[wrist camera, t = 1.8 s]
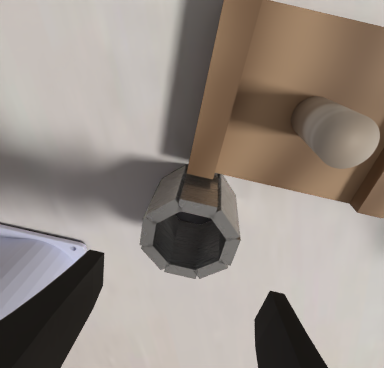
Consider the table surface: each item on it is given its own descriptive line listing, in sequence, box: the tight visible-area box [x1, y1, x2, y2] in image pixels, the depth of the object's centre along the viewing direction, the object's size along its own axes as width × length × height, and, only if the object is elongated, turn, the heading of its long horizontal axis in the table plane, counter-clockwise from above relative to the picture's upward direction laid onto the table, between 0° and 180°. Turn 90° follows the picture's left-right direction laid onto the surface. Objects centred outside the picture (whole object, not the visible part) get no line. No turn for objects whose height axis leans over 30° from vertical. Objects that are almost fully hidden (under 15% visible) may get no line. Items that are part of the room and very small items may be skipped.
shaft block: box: [187, 0, 384, 218], centre depth 12 cm, size 12×9×6 cm
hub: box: [140, 165, 240, 279], centre depth 16 cm, size 6×6×4 cm
